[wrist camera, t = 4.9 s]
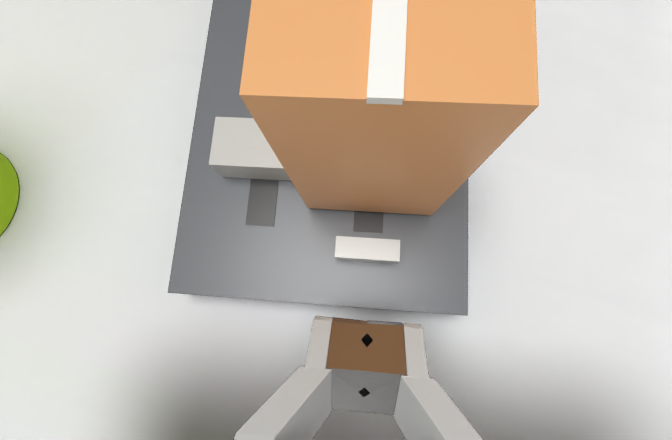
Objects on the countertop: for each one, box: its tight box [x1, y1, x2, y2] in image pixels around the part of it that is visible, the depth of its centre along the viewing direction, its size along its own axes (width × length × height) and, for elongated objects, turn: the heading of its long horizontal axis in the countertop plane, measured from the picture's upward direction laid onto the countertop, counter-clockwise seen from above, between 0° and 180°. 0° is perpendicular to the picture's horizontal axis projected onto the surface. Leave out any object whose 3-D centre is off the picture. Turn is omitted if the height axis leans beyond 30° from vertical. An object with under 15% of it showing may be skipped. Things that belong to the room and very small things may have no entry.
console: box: [168, 0, 468, 316], centre depth 17 cm, size 22×12×4 cm, turn 176°
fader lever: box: [239, 0, 539, 215], centre depth 11 cm, size 2×5×9 cm, turn 86°
